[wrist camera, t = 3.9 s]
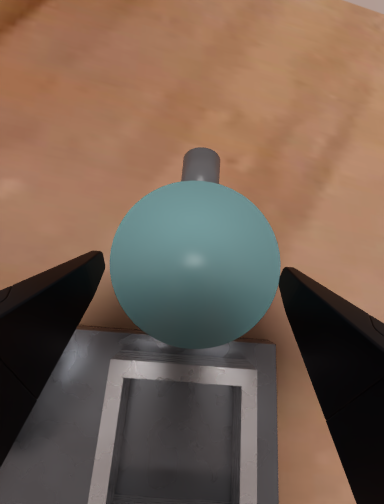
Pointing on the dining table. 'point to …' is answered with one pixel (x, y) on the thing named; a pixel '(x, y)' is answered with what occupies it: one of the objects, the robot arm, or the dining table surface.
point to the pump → (195, 260)
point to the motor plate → (149, 425)
